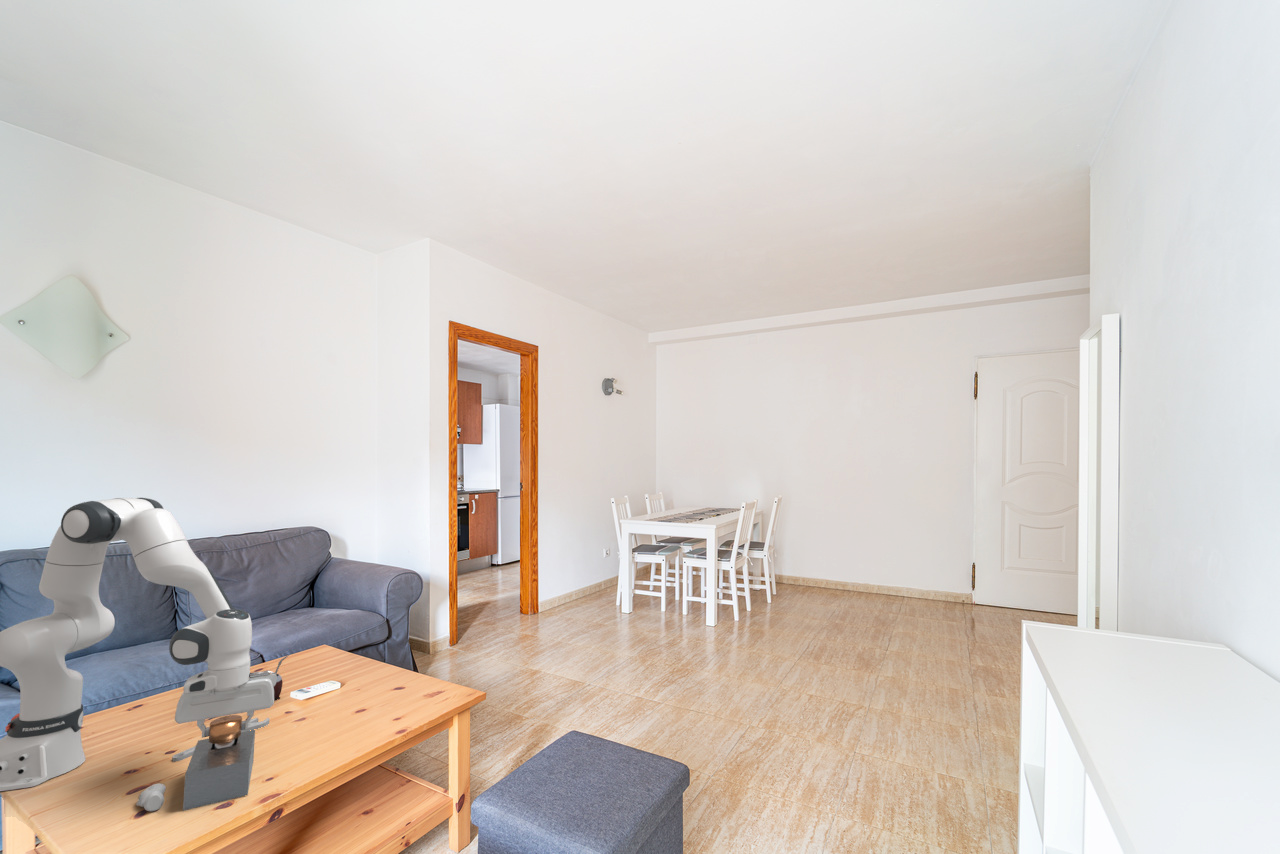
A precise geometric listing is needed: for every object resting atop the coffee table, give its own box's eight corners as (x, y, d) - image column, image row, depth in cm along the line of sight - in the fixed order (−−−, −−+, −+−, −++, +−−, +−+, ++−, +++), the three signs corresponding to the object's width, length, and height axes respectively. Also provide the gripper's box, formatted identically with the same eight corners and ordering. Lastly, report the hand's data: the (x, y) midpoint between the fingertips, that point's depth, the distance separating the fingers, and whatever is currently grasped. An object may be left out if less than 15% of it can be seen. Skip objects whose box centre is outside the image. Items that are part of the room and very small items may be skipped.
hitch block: (182, 810, 127) (185, 773, 128) (196, 773, 142) (198, 740, 143) (247, 795, 133) (249, 760, 134) (253, 761, 149) (255, 729, 149)
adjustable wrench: (175, 764, 147) (176, 757, 148) (162, 759, 150) (162, 752, 150) (272, 725, 170) (272, 718, 170) (259, 721, 173) (259, 715, 173)
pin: (204, 775, 137) (207, 729, 138) (208, 763, 142) (211, 718, 143) (238, 768, 140) (240, 723, 141) (240, 757, 146) (243, 713, 147)
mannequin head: (141, 806, 131) (169, 791, 134) (137, 822, 124) (166, 807, 127) (135, 789, 130) (163, 775, 133) (130, 805, 124) (160, 790, 127)
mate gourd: (254, 700, 186) (257, 654, 188) (282, 694, 192) (284, 649, 193) (258, 707, 181) (261, 660, 182) (286, 701, 186) (289, 654, 187)
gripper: (277, 665, 151) (274, 718, 150) (180, 679, 141) (176, 736, 139) (276, 672, 146) (273, 728, 145) (175, 687, 135) (171, 747, 134)
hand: (225, 732), depth 142 cm, fingers closed on pin, 6 cm apart
